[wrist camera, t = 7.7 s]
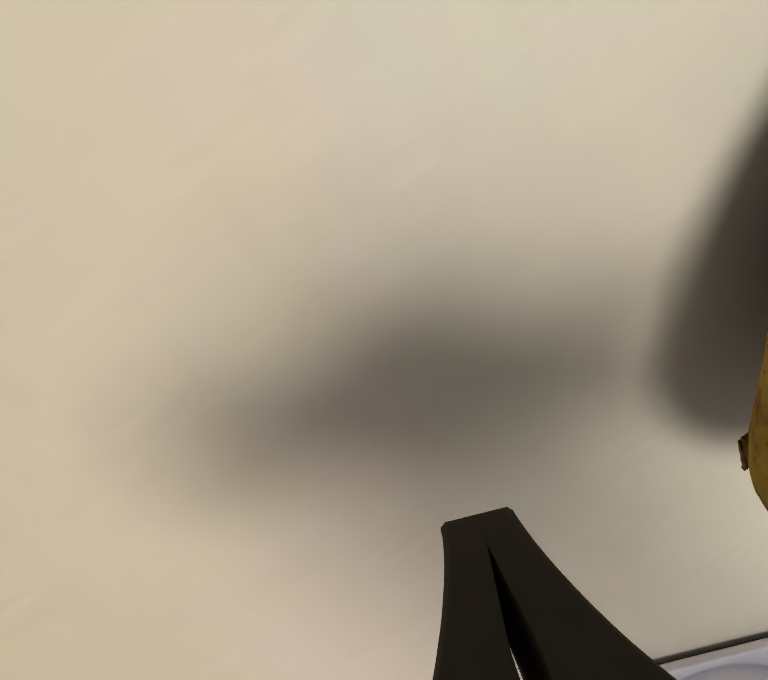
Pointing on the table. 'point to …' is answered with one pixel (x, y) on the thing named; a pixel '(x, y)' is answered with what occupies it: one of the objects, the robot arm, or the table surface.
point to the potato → (758, 436)
